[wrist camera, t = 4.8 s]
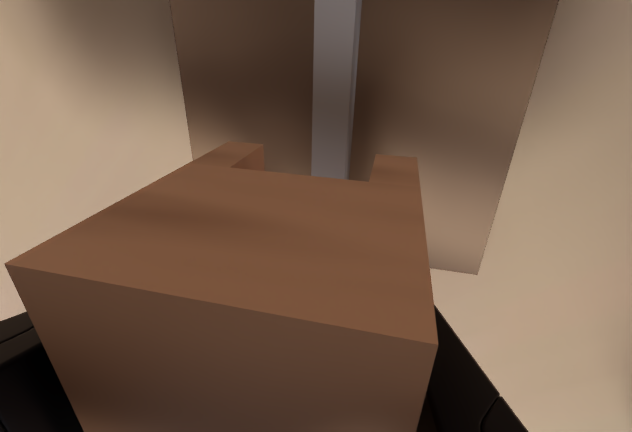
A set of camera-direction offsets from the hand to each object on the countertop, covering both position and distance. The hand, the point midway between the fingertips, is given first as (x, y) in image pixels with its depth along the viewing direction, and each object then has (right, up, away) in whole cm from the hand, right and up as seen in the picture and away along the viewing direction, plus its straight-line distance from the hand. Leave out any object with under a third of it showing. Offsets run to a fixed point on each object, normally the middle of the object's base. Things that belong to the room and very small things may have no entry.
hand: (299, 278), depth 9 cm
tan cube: (0, +1, +1) cm, 2 cm away
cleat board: (+1, +6, +5) cm, 7 cm away
